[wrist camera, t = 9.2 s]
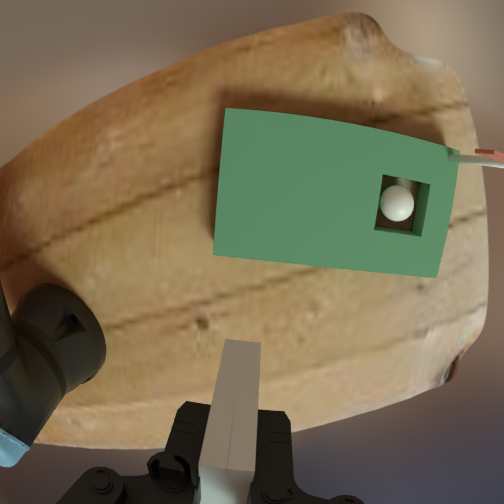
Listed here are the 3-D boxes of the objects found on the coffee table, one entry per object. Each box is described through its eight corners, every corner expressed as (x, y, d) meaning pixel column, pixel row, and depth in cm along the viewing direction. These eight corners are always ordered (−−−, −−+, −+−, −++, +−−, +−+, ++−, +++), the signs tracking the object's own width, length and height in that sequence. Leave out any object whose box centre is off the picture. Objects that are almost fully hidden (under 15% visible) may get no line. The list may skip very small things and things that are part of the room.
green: (216, 247, 33) (213, 255, 31) (228, 111, 29) (225, 108, 27) (426, 270, 33) (436, 278, 31) (448, 150, 29) (459, 150, 26)
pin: (419, 153, 27) (494, 158, 15) (420, 145, 27) (495, 146, 15) (454, 162, 27) (532, 173, 15) (455, 155, 27) (533, 163, 15)
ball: (369, 216, 30) (398, 225, 27) (375, 180, 29) (404, 187, 26) (390, 216, 32) (416, 225, 29) (395, 184, 31) (422, 190, 28)
